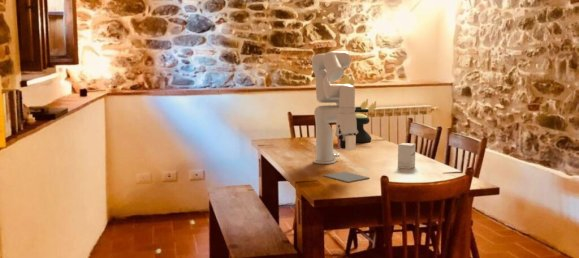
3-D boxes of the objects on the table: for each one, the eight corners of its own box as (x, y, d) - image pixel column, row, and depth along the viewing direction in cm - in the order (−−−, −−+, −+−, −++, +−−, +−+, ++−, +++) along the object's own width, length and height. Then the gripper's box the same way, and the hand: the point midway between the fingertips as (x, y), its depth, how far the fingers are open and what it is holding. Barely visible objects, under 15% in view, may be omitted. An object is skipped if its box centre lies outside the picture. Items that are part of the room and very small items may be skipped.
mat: (344, 172, 315) (344, 171, 315) (369, 178, 300) (369, 177, 300) (323, 176, 306) (323, 175, 306) (348, 182, 292) (348, 181, 292)
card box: (355, 149, 300) (355, 135, 299) (348, 150, 297) (348, 136, 296) (344, 147, 306) (344, 133, 305) (337, 148, 303) (337, 134, 302)
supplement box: (410, 169, 323) (411, 145, 321) (397, 167, 326) (397, 144, 325) (415, 166, 329) (416, 143, 327) (402, 165, 333) (402, 142, 331)
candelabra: (376, 142, 407) (377, 74, 401) (344, 144, 402) (345, 75, 396) (366, 138, 425) (367, 73, 419) (336, 139, 420) (336, 73, 414)
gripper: (354, 109, 307) (354, 145, 309) (328, 111, 297) (328, 148, 299) (364, 110, 301) (364, 147, 303) (339, 112, 291) (338, 150, 293)
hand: (346, 147), depth 301 cm, fingers closed on card box, 4 cm apart
